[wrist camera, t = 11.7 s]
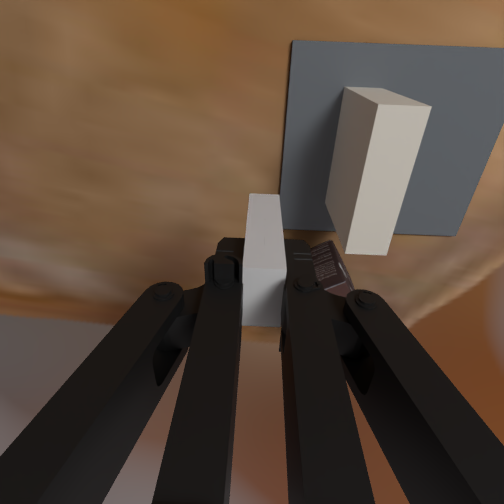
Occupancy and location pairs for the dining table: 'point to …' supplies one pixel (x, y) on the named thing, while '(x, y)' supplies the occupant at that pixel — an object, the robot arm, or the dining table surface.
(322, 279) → the box
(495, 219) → the dining table surface
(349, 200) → the light grey flat block
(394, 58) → the mat
